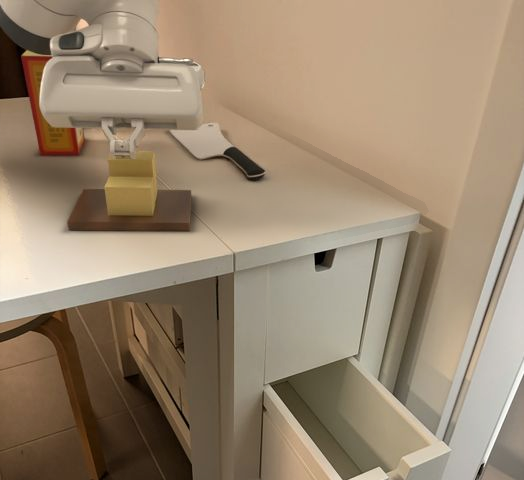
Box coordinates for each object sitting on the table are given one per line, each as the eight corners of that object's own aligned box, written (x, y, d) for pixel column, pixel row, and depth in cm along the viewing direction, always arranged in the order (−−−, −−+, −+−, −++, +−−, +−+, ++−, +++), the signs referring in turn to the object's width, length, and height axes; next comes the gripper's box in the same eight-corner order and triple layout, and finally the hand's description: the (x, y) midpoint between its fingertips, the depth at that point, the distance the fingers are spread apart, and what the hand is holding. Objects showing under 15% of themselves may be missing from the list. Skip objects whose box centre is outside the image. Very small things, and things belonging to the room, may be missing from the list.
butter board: (68, 230, 74) (66, 221, 73) (84, 196, 83) (83, 188, 82) (189, 230, 75) (189, 222, 74) (191, 197, 85) (191, 190, 84)
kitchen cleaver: (168, 126, 112) (215, 117, 114) (170, 135, 113) (216, 126, 115) (216, 179, 89) (273, 166, 91) (217, 189, 90) (274, 176, 92)
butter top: (112, 204, 78) (108, 215, 75) (108, 176, 76) (104, 186, 73) (155, 204, 79) (152, 215, 76) (153, 176, 76) (150, 187, 73)
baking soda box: (49, 139, 105) (31, 44, 95) (84, 139, 106) (70, 45, 96) (40, 155, 97) (20, 53, 88) (78, 155, 98) (62, 54, 89)
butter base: (112, 201, 79) (107, 159, 75) (116, 191, 82) (111, 150, 79) (155, 202, 79) (152, 160, 76) (157, 192, 83) (154, 151, 79)
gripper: (205, 74, 76) (206, 169, 74) (51, 70, 74) (48, 167, 72) (204, 43, 70) (205, 145, 68) (36, 37, 68) (32, 142, 66)
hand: (123, 157), depth 70 cm, fingers closed
